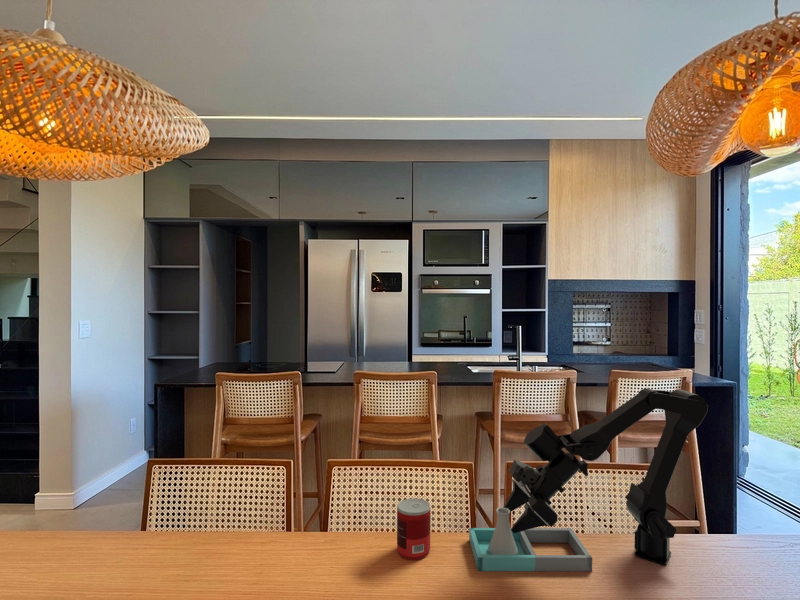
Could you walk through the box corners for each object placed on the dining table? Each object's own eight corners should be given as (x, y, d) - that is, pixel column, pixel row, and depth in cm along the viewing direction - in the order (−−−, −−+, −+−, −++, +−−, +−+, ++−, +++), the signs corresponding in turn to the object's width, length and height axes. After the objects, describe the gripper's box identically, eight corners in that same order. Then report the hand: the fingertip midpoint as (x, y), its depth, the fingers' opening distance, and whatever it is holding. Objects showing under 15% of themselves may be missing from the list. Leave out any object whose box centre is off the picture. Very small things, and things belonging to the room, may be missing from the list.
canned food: (436, 548, 115) (436, 502, 114) (419, 564, 108) (419, 516, 108) (408, 539, 119) (408, 495, 118) (390, 554, 112) (390, 507, 112)
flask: (516, 545, 115) (517, 504, 115) (520, 562, 108) (521, 518, 108) (485, 543, 116) (486, 502, 116) (488, 560, 109) (488, 516, 109)
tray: (571, 540, 118) (571, 528, 118) (592, 571, 105) (592, 557, 105) (469, 540, 118) (469, 527, 118) (477, 570, 105) (478, 557, 105)
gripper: (520, 437, 121) (476, 481, 121) (542, 464, 102) (490, 516, 102) (552, 468, 121) (508, 512, 121) (579, 501, 102) (527, 552, 103)
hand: (507, 521), depth 112 cm, fingers open, 9 cm apart
